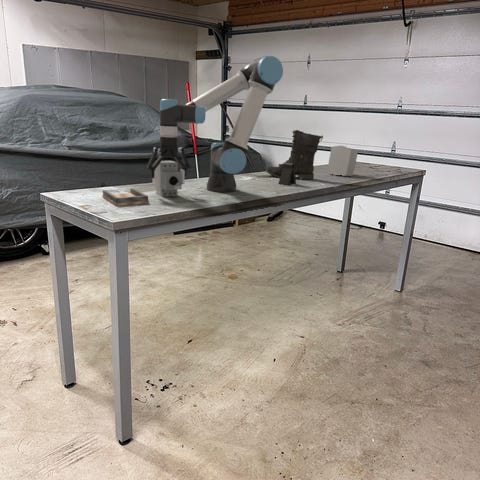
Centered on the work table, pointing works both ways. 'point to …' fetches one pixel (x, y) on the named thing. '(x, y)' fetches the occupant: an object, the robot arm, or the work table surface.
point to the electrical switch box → (342, 161)
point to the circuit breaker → (168, 179)
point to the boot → (300, 155)
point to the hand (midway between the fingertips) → (168, 184)
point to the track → (126, 198)
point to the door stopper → (287, 174)
